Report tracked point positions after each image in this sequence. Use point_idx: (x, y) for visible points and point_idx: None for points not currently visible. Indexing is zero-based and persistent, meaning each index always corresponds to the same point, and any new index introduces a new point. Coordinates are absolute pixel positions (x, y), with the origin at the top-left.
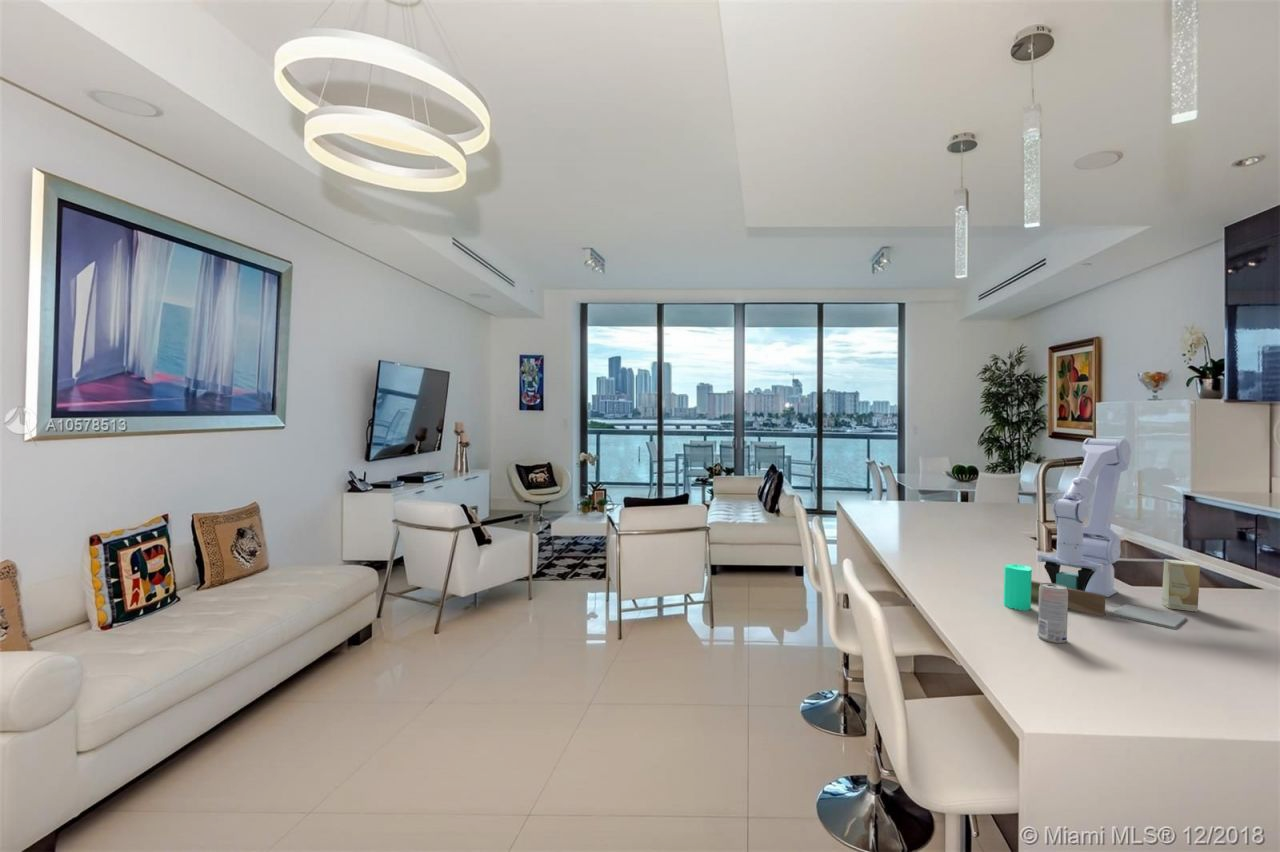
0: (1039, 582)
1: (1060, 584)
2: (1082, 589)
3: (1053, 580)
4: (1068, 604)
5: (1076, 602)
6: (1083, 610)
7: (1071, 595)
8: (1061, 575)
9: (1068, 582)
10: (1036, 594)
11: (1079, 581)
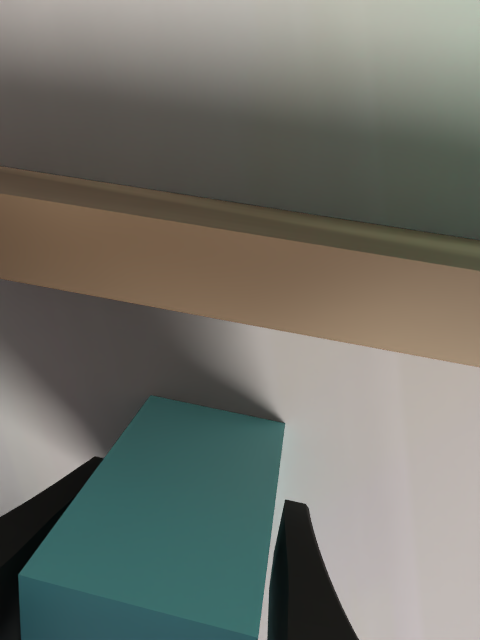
0: (445, 327)
1: (227, 514)
2: (47, 489)
3: (301, 576)
4: (137, 191)
5: (54, 182)
6: (35, 172)
7: (64, 194)
8: (191, 612)
9: (136, 526)
10: (434, 242)
11: (15, 543)
